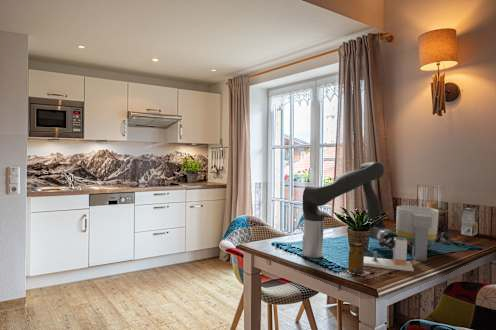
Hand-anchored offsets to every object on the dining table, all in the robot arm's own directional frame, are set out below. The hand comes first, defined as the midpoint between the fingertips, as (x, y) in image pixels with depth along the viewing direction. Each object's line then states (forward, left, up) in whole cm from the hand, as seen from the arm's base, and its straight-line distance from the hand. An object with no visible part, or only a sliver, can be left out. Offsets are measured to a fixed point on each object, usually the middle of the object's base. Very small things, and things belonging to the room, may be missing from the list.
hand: (401, 247), depth 151 cm
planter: (+12, +34, -9) cm, 37 cm away
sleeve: (0, +2, -7) cm, 8 cm away
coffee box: (+52, +85, -9) cm, 100 cm away
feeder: (+11, +18, -9) cm, 22 cm away
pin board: (-5, +2, -9) cm, 10 cm away
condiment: (-18, -13, -9) cm, 25 cm away
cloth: (+31, +56, -9) cm, 64 cm away
